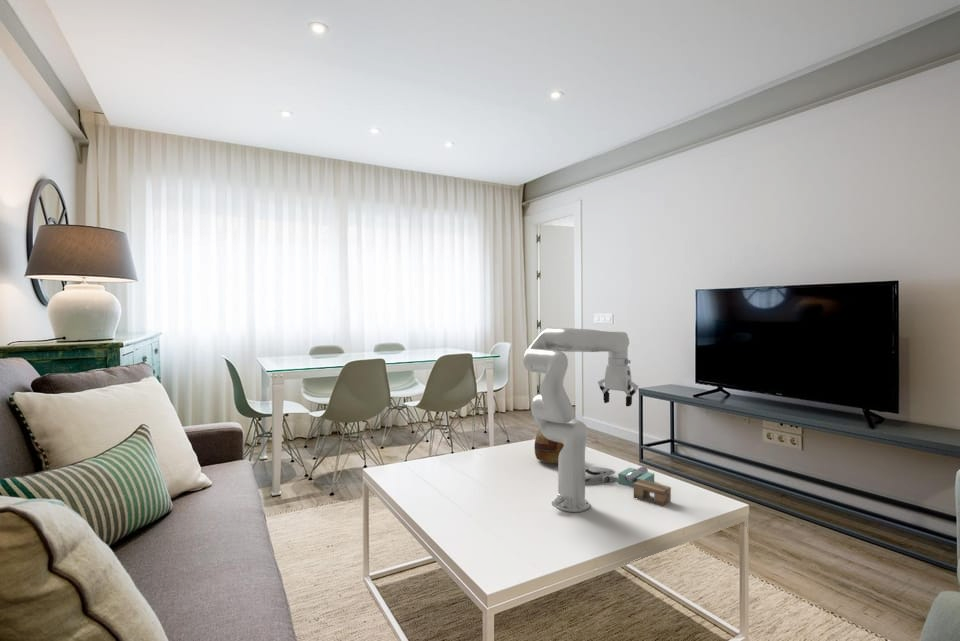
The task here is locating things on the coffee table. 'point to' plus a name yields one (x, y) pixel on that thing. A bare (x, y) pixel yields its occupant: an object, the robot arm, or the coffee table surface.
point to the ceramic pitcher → (547, 448)
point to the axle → (636, 474)
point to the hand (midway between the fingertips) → (617, 404)
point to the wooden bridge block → (660, 492)
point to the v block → (646, 477)
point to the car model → (598, 475)
